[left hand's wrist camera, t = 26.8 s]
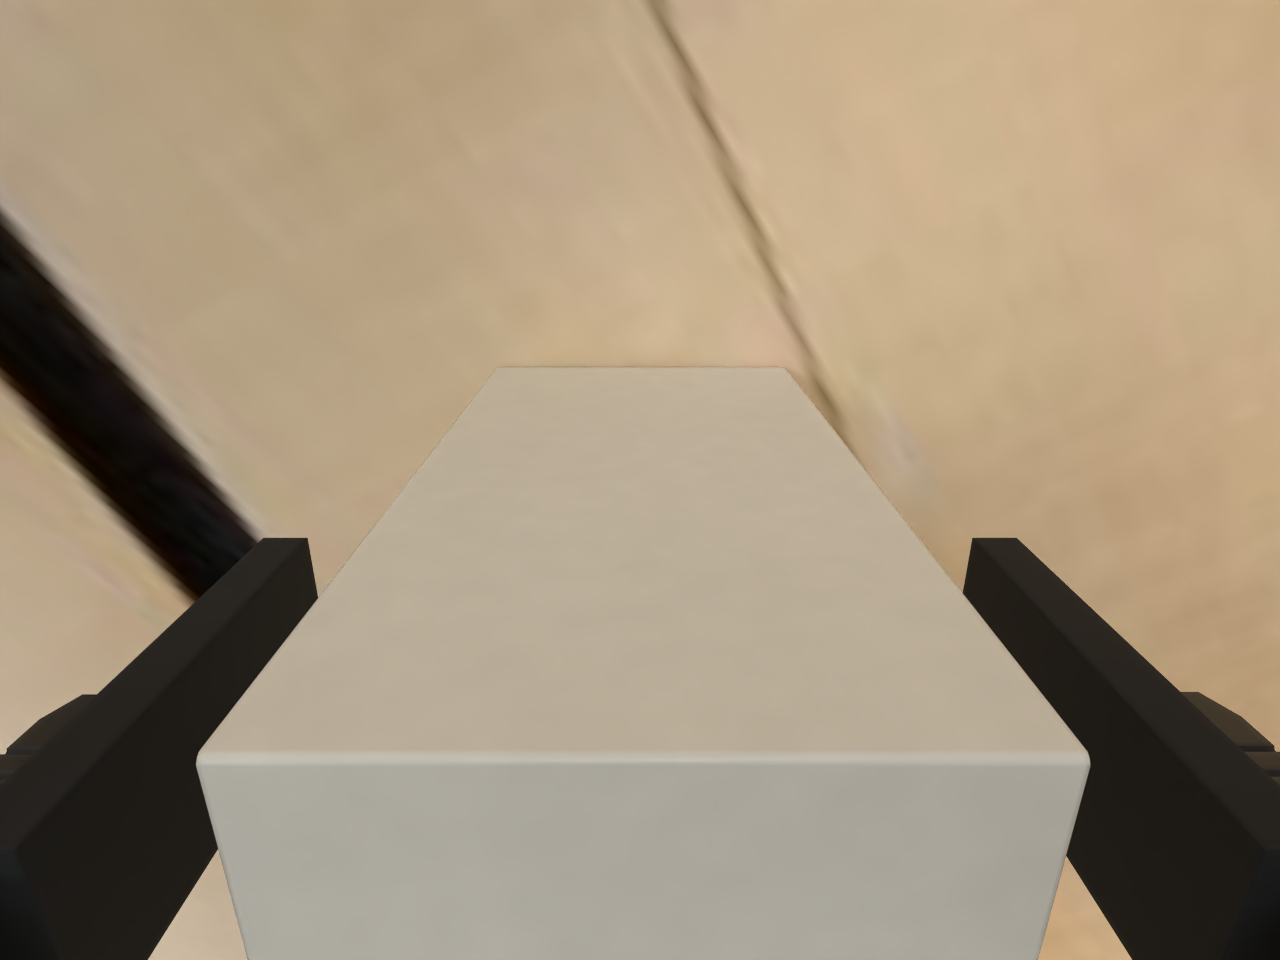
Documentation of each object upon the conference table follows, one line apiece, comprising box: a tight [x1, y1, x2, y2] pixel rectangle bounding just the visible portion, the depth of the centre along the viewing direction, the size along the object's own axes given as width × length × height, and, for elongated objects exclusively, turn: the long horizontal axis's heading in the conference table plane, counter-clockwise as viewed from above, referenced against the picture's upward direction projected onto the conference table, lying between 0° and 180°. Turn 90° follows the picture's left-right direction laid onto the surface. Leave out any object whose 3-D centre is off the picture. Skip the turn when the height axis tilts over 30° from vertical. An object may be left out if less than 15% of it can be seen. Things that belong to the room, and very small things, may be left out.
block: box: [196, 367, 1090, 960], centre depth 12 cm, size 6×7×12 cm
